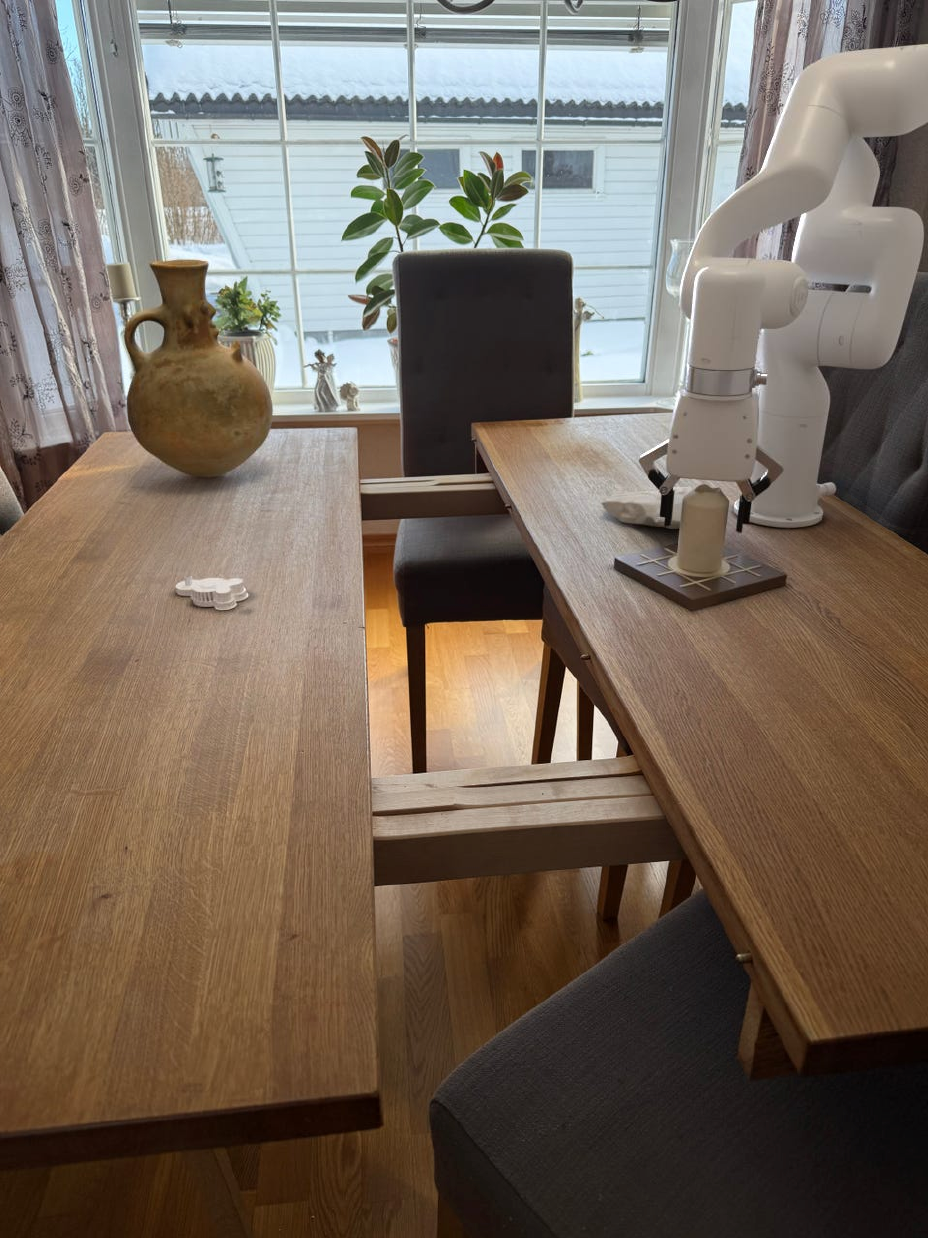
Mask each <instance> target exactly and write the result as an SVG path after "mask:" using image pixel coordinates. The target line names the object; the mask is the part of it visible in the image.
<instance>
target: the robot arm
mask: <svg viewBox="0 0 928 1238" xmlns="http://www.w3.org/2000/svg"><path fill="white" fill-rule="evenodd" d="M784 105H785V106H784V108H783V110H782V112H781V114H780V115H781V116H780V118H779V121H778V124H777V126H776V128H775V132H774V133H773V136H772V139H771V142H770V145H769V148H768V150H767V152H766V156H765V158H764V161H763V164H762V167H761V169H760V170H759V172H758V173H757V174H756V175H755V176H752V178H751V179H749V180H748V181H746V182H745V183H743V185H741V186H740V187H739V188H737V189H736V190H735V191H734V192H733V193H731V194H730V196H729V197H727V198H726V199H725V200H724V201H723V202H722V203H721V204H719V206H718V207H716V209H715V210H714V211H713V212H711V214H710V215H709V217H707V219H706V220H705V221H704V223H703V225H702V226H701V228H700V230H699V232H698V234H697V236H696V238H695V241H694V243H693V246H692V249H691V251H690V253H689V256H688V259H687V262H686V266H685V268H684V271H683V274H682V278H681V282H680V287H679V305H680V308H681V311H682V313H683V314H684V316H685V318H687V319H688V320H690V326H689V338H688V348H687V360H686V367H685V368H686V369H685V379H684V380H685V381H684V388H681V389H678V392H677V395H676V398H675V402H674V405H673V411H672V416H671V422H670V427H669V435H668V439H667V440H665V441H664V442H662V443H660V444H659V445H656V446H655V447H653V448H651V449H650V450H648V451H646V452H644V453H642V454H641V455H640V457H639V459H638V463H639V464H640V466H641V468H642V470H643V472H644V473H645V474H646V476H647V478H648V480H649V481H650V482H651V483H652V485H654V487H655V488H656V489H657V491H659V492H660V494H661V505H660V517H665V521H664V526H667V527H668V526H670V524H671V521H672V514H673V503H674V493H675V490H673V487H675V485H676V484H677V483H678V482H679V481H680V479H685V480H687V479H688V480H700V481H714V482H716V481H717V482H730V483H731V482H732V483H736V485H737V487H738V489H739V490H740V492H741V495H739V498H738V499H737V500H735V502H734V503H733V512H734V514H735V515H736V516H737V518H736V525H735V532H737V533H740V534H742V533H743V527H744V525H750V523H753V524H756V525H760V526H766V527H769V528H770V527H773V528H780V529H781V528H784V529H791V528H792V529H795V528H796V529H797V528H805V527H810V526H813V525H816V524H818V523H819V522H821V521H822V520H823V517H824V510H823V508H822V506H820V505H819V504H818V501H819V500H820V499H822V497H823V498H824V497H828V496H832V495H835V493H836V492H837V487H836V484H835V483H834V482H832V481H831V482H825V483H821V484H820V483H818V478H819V472H820V466H821V461H822V460H821V459H822V455H823V447H824V442H825V437H826V430H827V422H828V418H829V417H828V416H829V410H830V405H831V393H830V389H829V386H828V384H827V382H826V379H825V378H824V376H823V374H822V372H821V370H820V369H819V367H824V366H825V367H834V368H844V369H845V368H846V369H856V370H875V369H879V368H881V367H884V365H886V364H887V363H888V362H889V360H890V359H891V358H892V356H893V354H894V352H895V350H896V347H897V344H898V341H899V337H900V334H901V331H902V328H903V323H904V320H905V317H906V314H907V309H908V306H909V301H910V299H911V294H912V291H913V287H914V283H915V280H916V276H917V274H918V273H917V272H918V269H919V265H920V261H921V257H922V253H923V248H924V247H923V246H924V240H925V239H924V237H925V229H924V223H923V220H922V217H921V216H920V215H919V213H918V212H916V211H915V210H913V209H911V208H908V207H902V206H873V203H874V200H875V196H876V192H877V188H878V185H879V181H880V177H881V176H880V175H881V170H880V166H879V162H878V160H877V158H876V156H875V154H874V152H873V150H872V149H871V147H870V145H869V144H868V143H867V142H866V140H865V138H882V137H884V138H885V137H896V136H897V137H898V136H903V135H906V134H909V133H910V132H913V131H914V130H916V129H918V128H920V127H922V126H924V125H925V124H928V43H924V44H912V45H903V46H902V45H901V46H891V47H881V48H866V49H858V50H850V51H849V50H848V51H843V52H838V53H833V54H829V55H827V56H824V57H822V58H820V59H818V60H817V61H814V62H813V63H811V64H809V65H807V66H806V67H805V68H803V70H801V71H800V73H799V74H798V75H797V77H796V79H795V80H794V82H793V84H792V87H791V89H790V92H789V94H788V97H787V99H786V102H785V104H784ZM798 217H800V219H799V223H798V228H797V231H796V234H795V240H794V243H793V248H792V255H791V261H789V260H785V259H773V258H771V259H770V258H753V257H729V256H730V255H731V253H733V251H734V250H735V249H736V248H737V247H739V246H740V245H741V244H742V243H744V242H745V241H747V240H748V239H749V238H752V237H753V236H755V235H757V234H759V233H761V232H763V231H765V230H768V229H770V228H773V227H776V226H778V225H781V224H784V223H786V222H788V221H790V220H793V219H795V218H798ZM809 282H810V283H816V284H817V283H819V284H831V285H832V284H833V285H848V286H850V285H852V286H866V287H867V286H868V287H870V288H871V289H870V292H855V291H839V290H829V289H828V290H827V289H826V290H825V289H809ZM759 337H760V344H761V371H758V369H757V368H756V361H757V354H758V344H759ZM759 386H760V387H759ZM756 387H759V394H758V393H757V392H755V391H753V389H756ZM665 456H666V459H665V460H666V461H665V462H666V463H665V469H666V472H667V474H666V475H664V474H663V473H662V472H661V471H660V470H659V469H658V468H657V466H656V464H655V461H658V460H659V459H661V458H662V457H665Z"/></svg>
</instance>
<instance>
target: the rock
mask: <svg viewBox="0 0 928 1238" xmlns="http://www.w3.org/2000/svg"><path fill="white" fill-rule="evenodd" d="M693 489H694V487H692V486H681V487H680V486H676V487H675V486H674V487H673V490H675V493H674V503H673V514H672V521H671V524H670V526H668V527H667V526H664V521H665V517H660V505H661V494H660V492H659V490H649V491H646V490H645V491H628V490H617V491H615V492H614V493H612V494H611V495H610V496H608V498H606V499H605V500H602V502H601V505H602V507H603V508H604V509H605V511H607V512H609V513H610V514H611V515H612V516H614V517H616V518H617V519H618V520H619V521H620V522H622V523H626V524H634V525H635V524H636V525H642V526H643V525H644V526H648V527H655V528H666V529H669V530H676V529H679V530H680V521H681V510H682V500H683V497H684V496H685V495H686V494H687V493H689V492H690V491H692V490H693Z"/></svg>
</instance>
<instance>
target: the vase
mask: <svg viewBox="0 0 928 1238" xmlns="http://www.w3.org/2000/svg"><path fill="white" fill-rule="evenodd" d="M209 264H210V263H209V262H208V261H207V260H200V259H190V258H189V259H170V260H154V261H151V262H150V263H149V267H150V269H151V272H152V273H153V274H154V277H155V280H156V281H157V284H158V288H159V292H160V297H161V304H160V305H159V306H156V307H153V308H148V309H145V310H141V311H137V312H135V313H134V314H133V315H131V317H129V319H128V321H127V323H126V324H125V328H124V335H123V337H124V338H123V339H124V345H125V348H126V350H127V352H128V355H129V358H130V360H131V362H132V365H133V367H134V370H135V373H134V375H133V377H132V379H131V381H130V384H129V388H128V391H127V395H126V413H127V414H126V415H127V421H128V426H129V428H130V430H131V432H132V435H133V436H134V438H135V439H136V442H138V444H139V445H140V446H141V447H142V449H144V450H145V451H146V452H148V454H150V455H152V456H153V457H155V458H156V459H158V460H160V461H161V462H162V463H163V464H166V465H167V466H169V467H171V468H172V469H174V470H176V471H177V472H180V473H182V474H185V475H188V476H193V477H198V478H214V477H218V476H219V477H220V476H221V475H226V474H228V473H230V472H232V471H233V470H235V469H237V468H238V467H240V466H241V465H243V464H244V463H245V462H246V461H248V460H249V458H251V457H252V456H253V455H254V454H255V453H256V452H257V451H258V450H259V449H260V448H261V447H262V446H263V444H264V443H265V441H266V440H267V438H268V436H269V433H270V431H271V426H272V423H273V413H274V408H273V401H272V397H271V391H270V389H269V386H268V384H267V383H266V381H265V378H264V377H263V375H262V374H261V372H260V370H259V369H258V368H257V367H256V365H255V364H254V363H252V361H250V360H249V359H248V358H247V357H246V356H245V355H244V353H243V349H242V345H241V341H239V340H238V339H236V340H235V341H234V342H233V343H232V345H230V346H225V345H223V344H222V343H220V342H219V339H218V338H219V335H220V329H219V328H218V327H217V324H216V323H215V322H213V319H214V317H215V316H216V314H217V309H216V307H215V306H214V305H213V304H212V303H210V302H209V300H208V298H207V293H206V278H207V274H208V271H209V266H210V265H209ZM144 322H154V323H156V324H159V325H160V326H161V327H162V329H163V339H162V342H161V344H160V345H159V346H158V347H157V348H155V349H154V350H153V351H152V352H146V351H144V350H143V349H142V348H141V347H140V346H139V345H138V344H137V342H136V332H137V329H138V327H139V325H141V324H142V323H144Z"/></svg>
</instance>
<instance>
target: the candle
mask: <svg viewBox="0 0 928 1238" xmlns="http://www.w3.org/2000/svg"><path fill="white" fill-rule="evenodd" d="M729 508H730V499H729V498H728V497H727V495H725V493H724V492H723V491H722V489H721V487H713V488H712V487H711V486H710V485H708V484H705V483H702V484H699V485H698V486H696V487H694V488H693V490H692V491H690V492H689V493H687V494H686V495H685V496H684V497H683V500H682V510H681V521H680V529H679V531H678V532H679V533H678V542H677V543H678V552H677V564H678V566H679V567H681V568H683V569H685V570H688V571H692V572H702V573H704V572H713V571H716V570H718V569H720V568H721V565H722V558H723V550H724V546H725V541H726V532H727V524H728V516H729Z"/></svg>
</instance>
